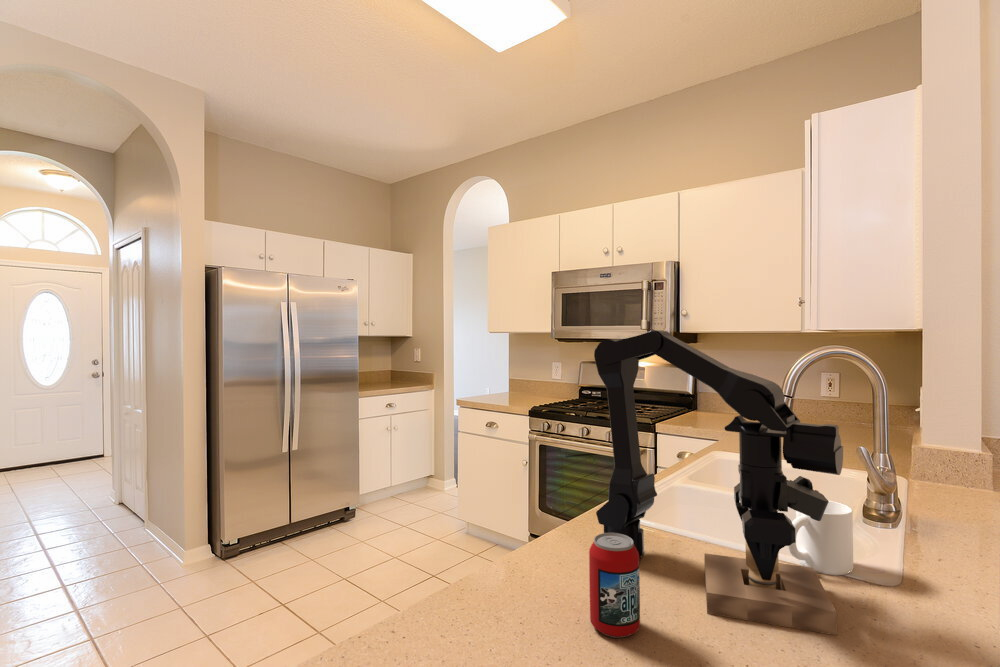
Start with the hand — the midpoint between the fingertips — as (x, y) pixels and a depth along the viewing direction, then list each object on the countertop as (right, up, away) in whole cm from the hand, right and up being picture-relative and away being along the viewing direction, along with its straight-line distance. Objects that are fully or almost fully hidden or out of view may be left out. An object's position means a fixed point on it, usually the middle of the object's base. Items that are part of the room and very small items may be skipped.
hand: (761, 566), depth 76 cm
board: (0, -5, 0) cm, 5 cm away
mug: (+15, -5, +10) cm, 19 cm away
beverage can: (-24, -5, -7) cm, 26 cm away
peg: (0, -5, 0) cm, 5 cm away
